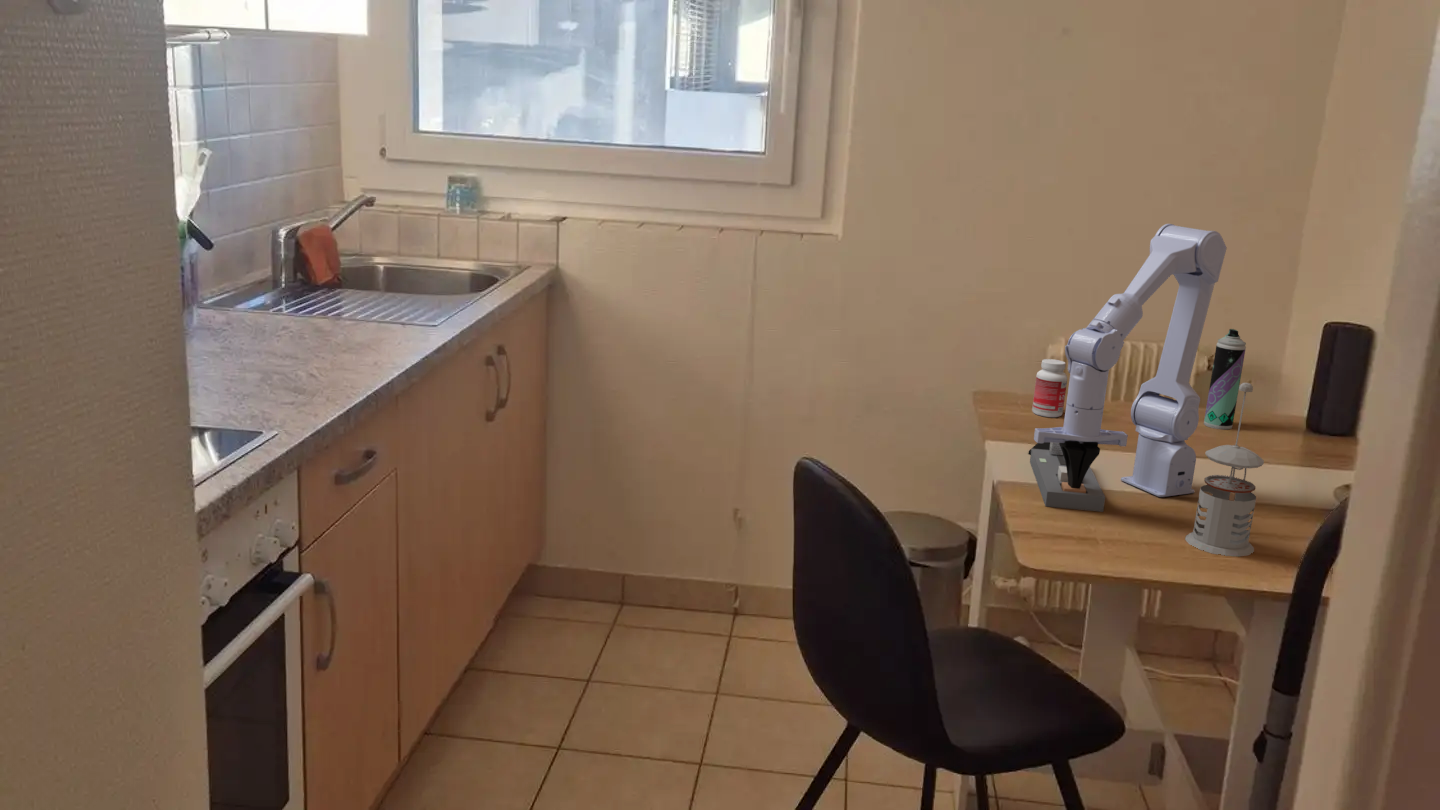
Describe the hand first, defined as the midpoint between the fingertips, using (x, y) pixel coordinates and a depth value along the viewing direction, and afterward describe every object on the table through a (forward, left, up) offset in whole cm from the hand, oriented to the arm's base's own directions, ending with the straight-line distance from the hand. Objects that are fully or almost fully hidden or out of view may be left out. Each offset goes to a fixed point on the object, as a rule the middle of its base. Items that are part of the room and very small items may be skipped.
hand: (1073, 486), depth 202 cm
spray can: (+29, -63, -3) cm, 70 cm away
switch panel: (+7, -5, -3) cm, 9 cm away
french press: (-21, -10, -3) cm, 24 cm away
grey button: (+4, -3, -1) cm, 5 cm away
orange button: (0, 0, -2) cm, 2 cm away
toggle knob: (+16, -11, 0) cm, 19 cm away
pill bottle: (+46, -33, -3) cm, 57 cm away
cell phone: (+26, -20, -3) cm, 33 cm away
